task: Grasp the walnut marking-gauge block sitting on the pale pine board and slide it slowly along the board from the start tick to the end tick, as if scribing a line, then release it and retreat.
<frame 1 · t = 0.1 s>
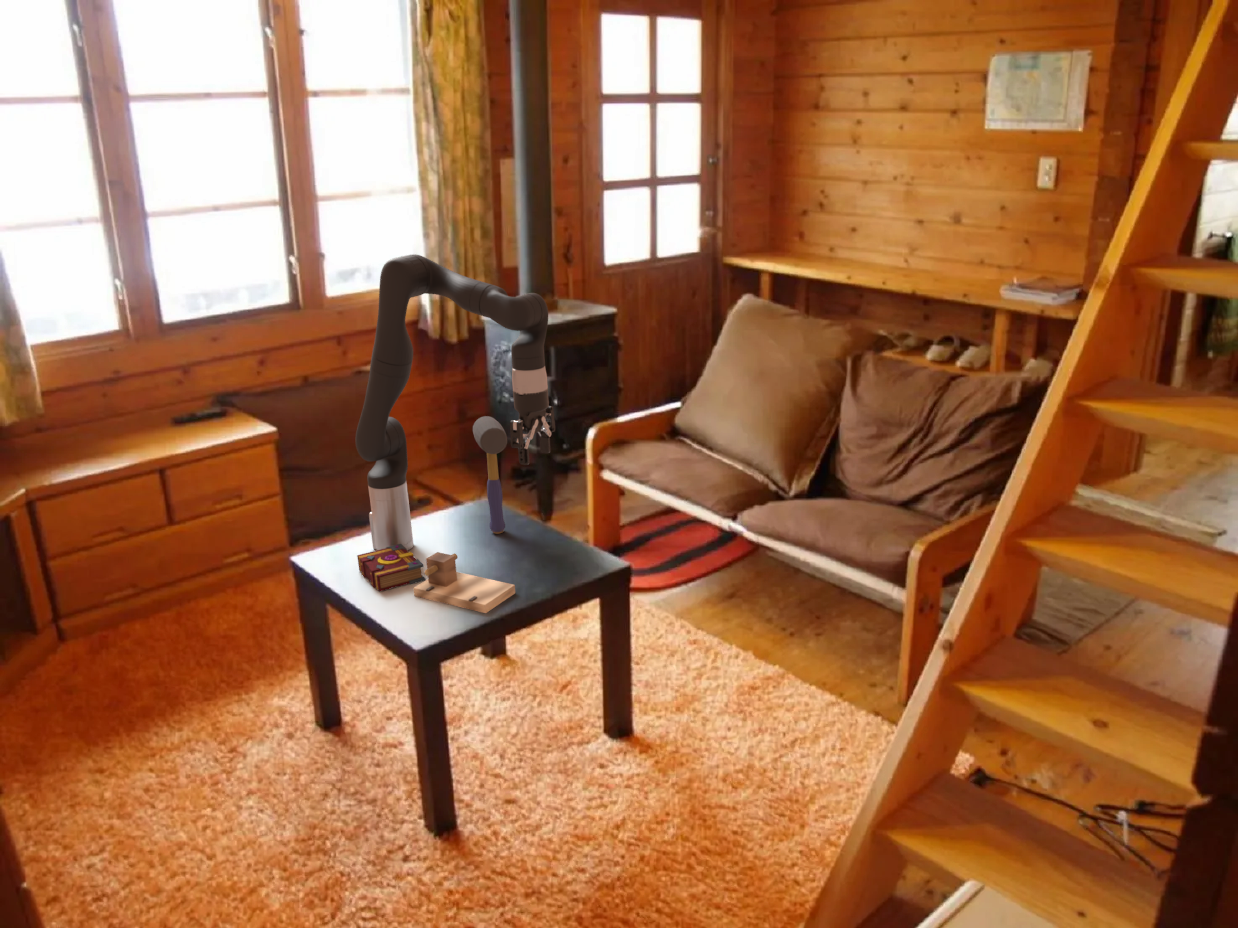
hand: (535, 458, 231), 29 cm above the table, tool pointing down, fingers open, 8 cm apart
rubber mallet: (498, 533, 269), on the table
board: (464, 594, 234), on the table
decorative book: (390, 576, 247), on the table
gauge: (442, 581, 237), point 2 cm above the table, touching board
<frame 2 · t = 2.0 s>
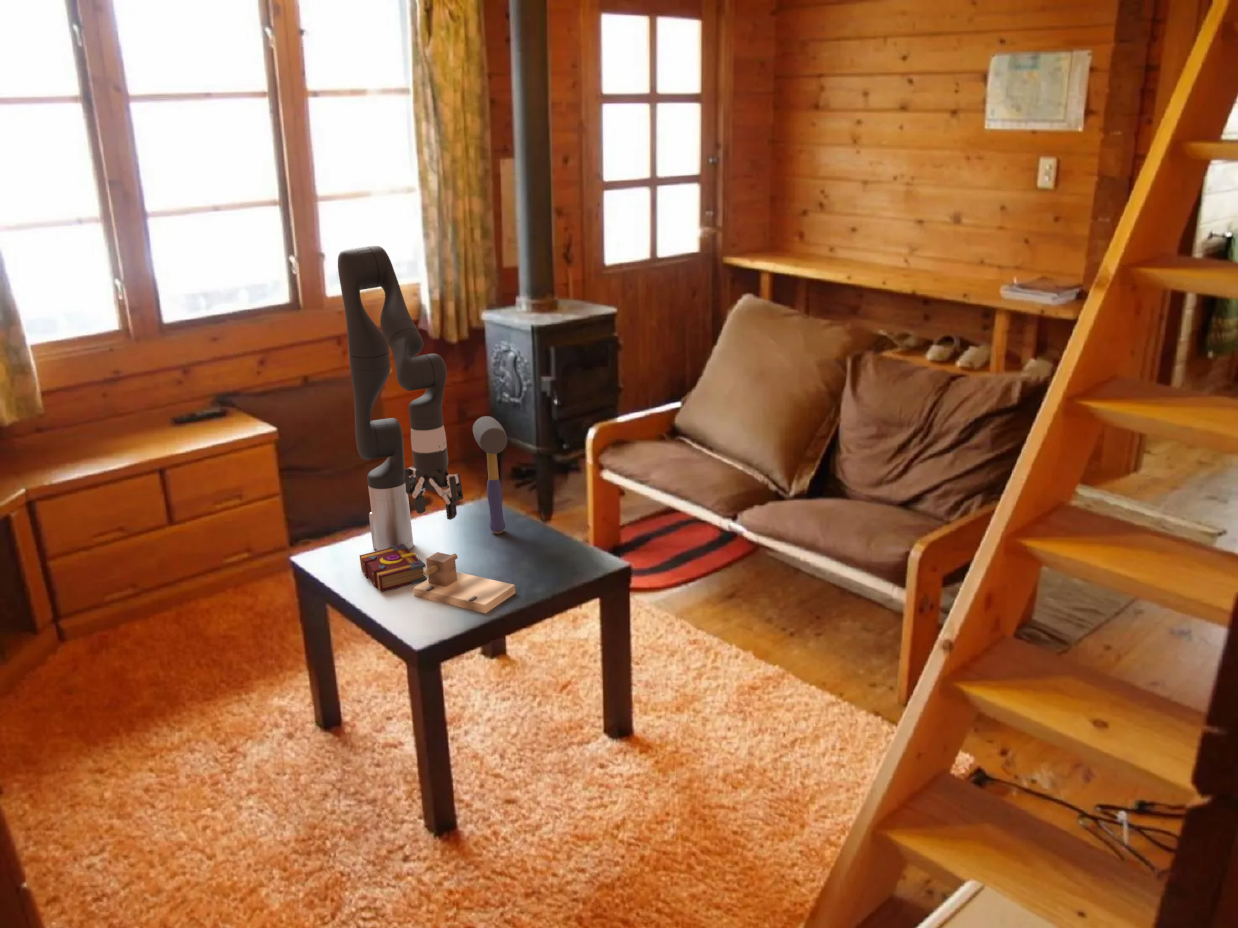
hand: (436, 515, 232), 18 cm above the table, tool pointing down, fingers open, 8 cm apart
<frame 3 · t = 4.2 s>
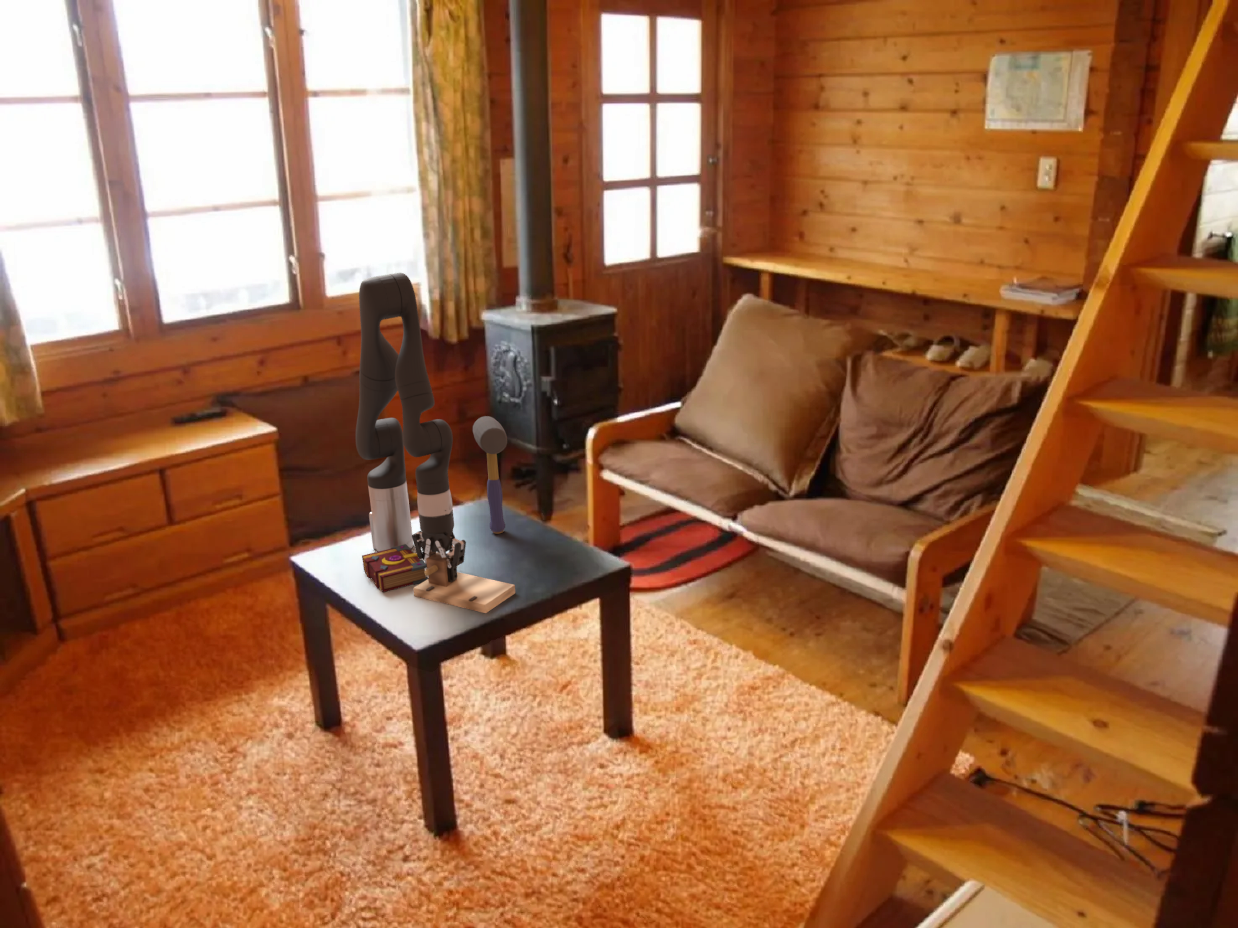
hand: (442, 578, 237), 3 cm above the table, tool pointing down, fingers closed on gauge, 5 cm apart
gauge: (442, 581, 237), point 2 cm above the table, touching board, gripper
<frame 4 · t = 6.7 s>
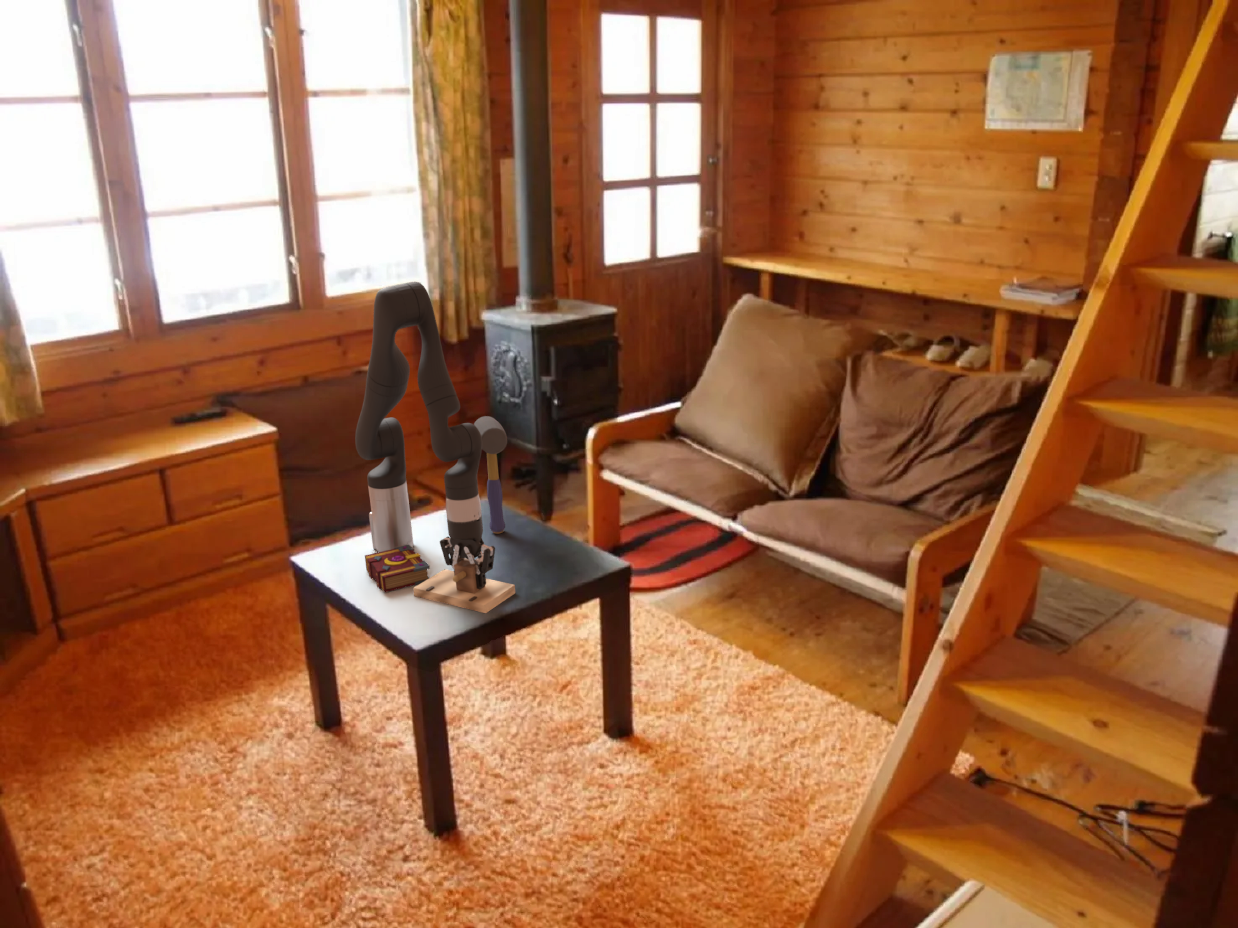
hand: (471, 585, 232), 3 cm above the table, tool pointing down, fingers closed on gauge, 5 cm apart
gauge: (471, 588, 233), point 2 cm above the table, touching gripper
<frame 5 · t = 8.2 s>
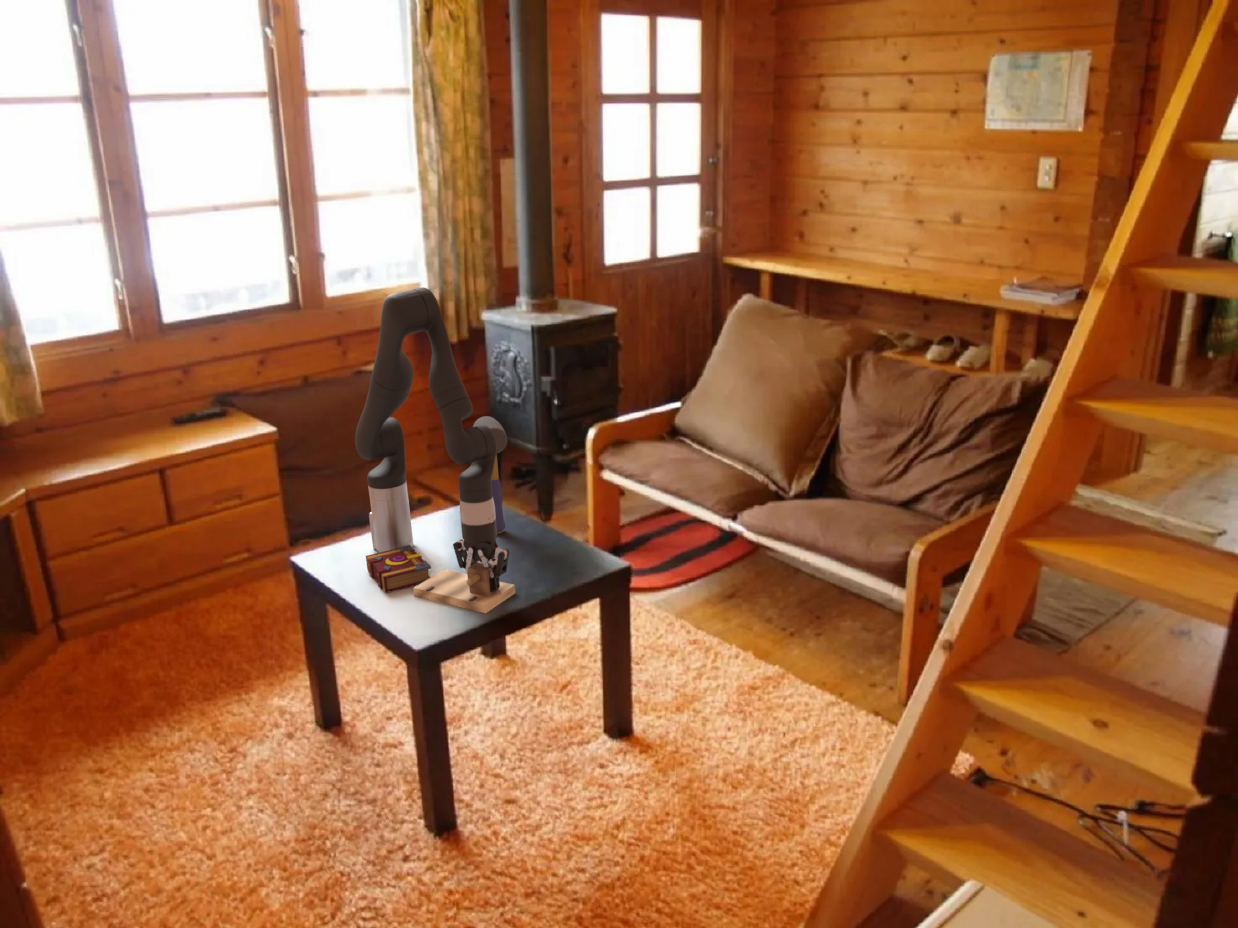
hand: (484, 588, 231), 3 cm above the table, tool pointing down, fingers closed on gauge, 5 cm apart
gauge: (484, 591, 231), point 2 cm above the table, touching board, gripper
when the fingers open (3 cm above the table, at t = 9.0 s): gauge stays where it is, resting on board.
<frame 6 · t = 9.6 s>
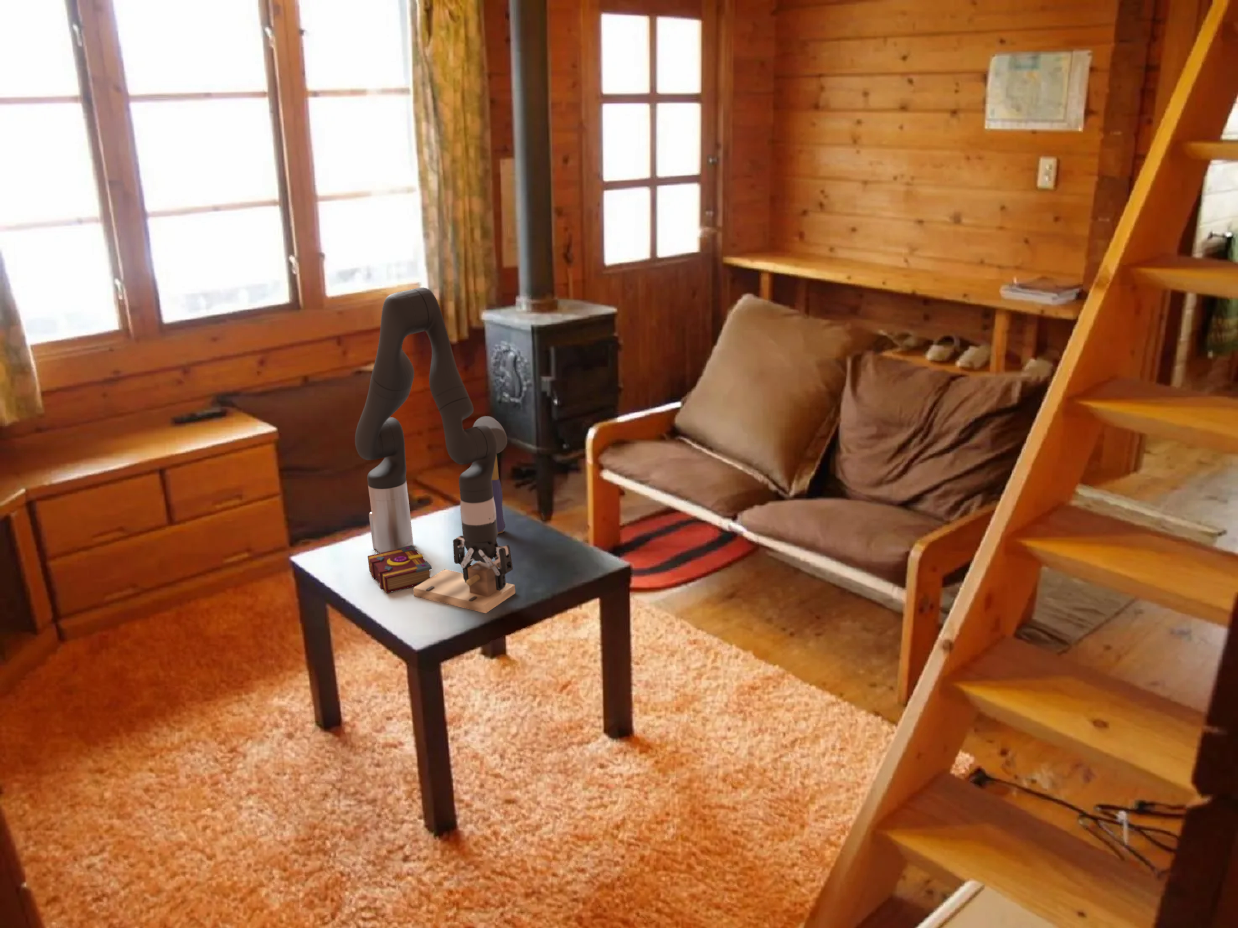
hand: (484, 585, 230), 3 cm above the table, tool pointing down, fingers open, 8 cm apart
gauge: (484, 591, 231), point 2 cm above the table, touching board
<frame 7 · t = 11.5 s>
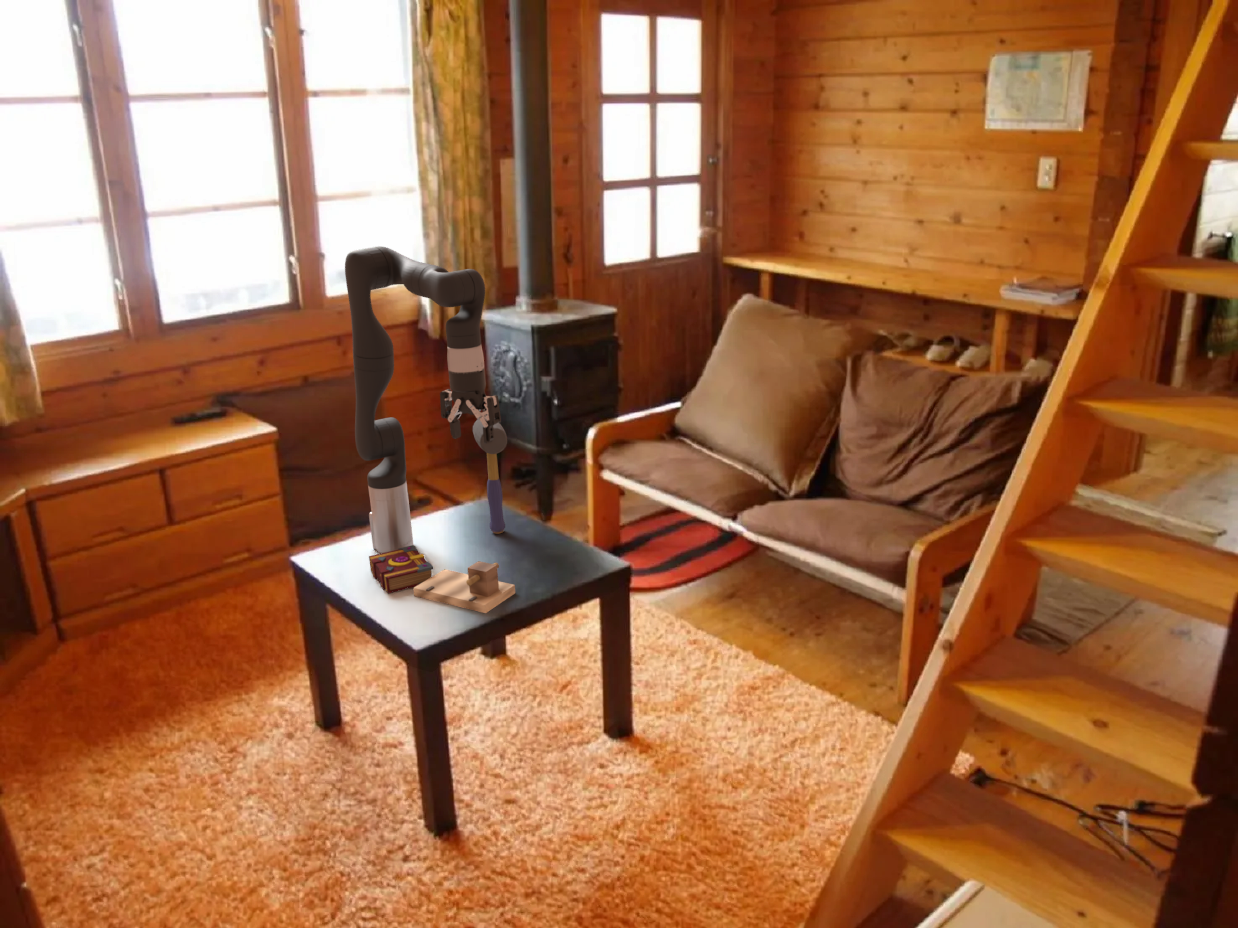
hand: (472, 440, 224), 36 cm above the table, tool pointing down, fingers open, 8 cm apart
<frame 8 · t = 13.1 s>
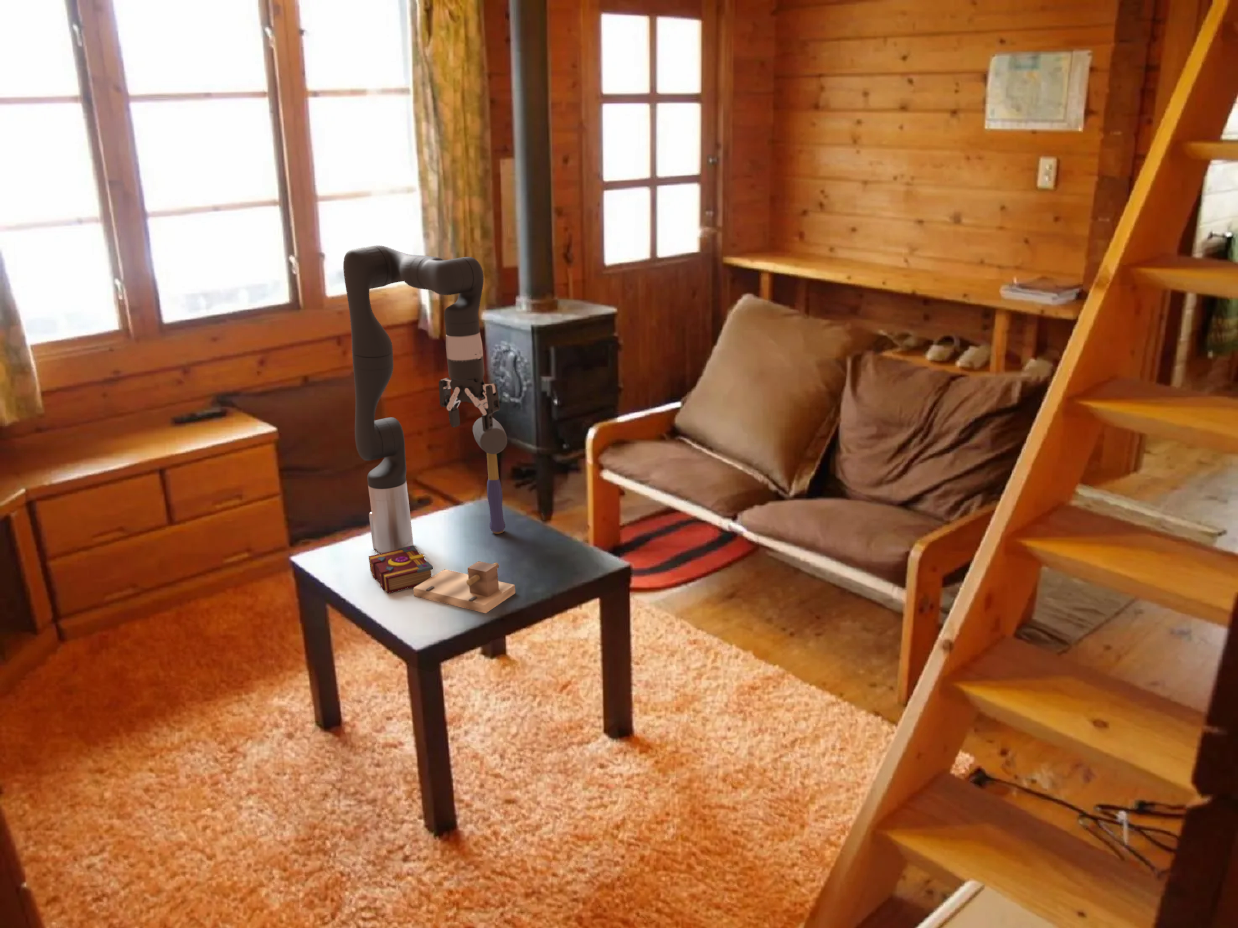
hand: (471, 428, 224), 38 cm above the table, tool pointing down, fingers open, 8 cm apart
at the end: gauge 0.5 cm from the target spot on the board, point 2.0 cm above the board's base; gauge moved 11.8 cm from its start; the gripper is holding nothing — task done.
